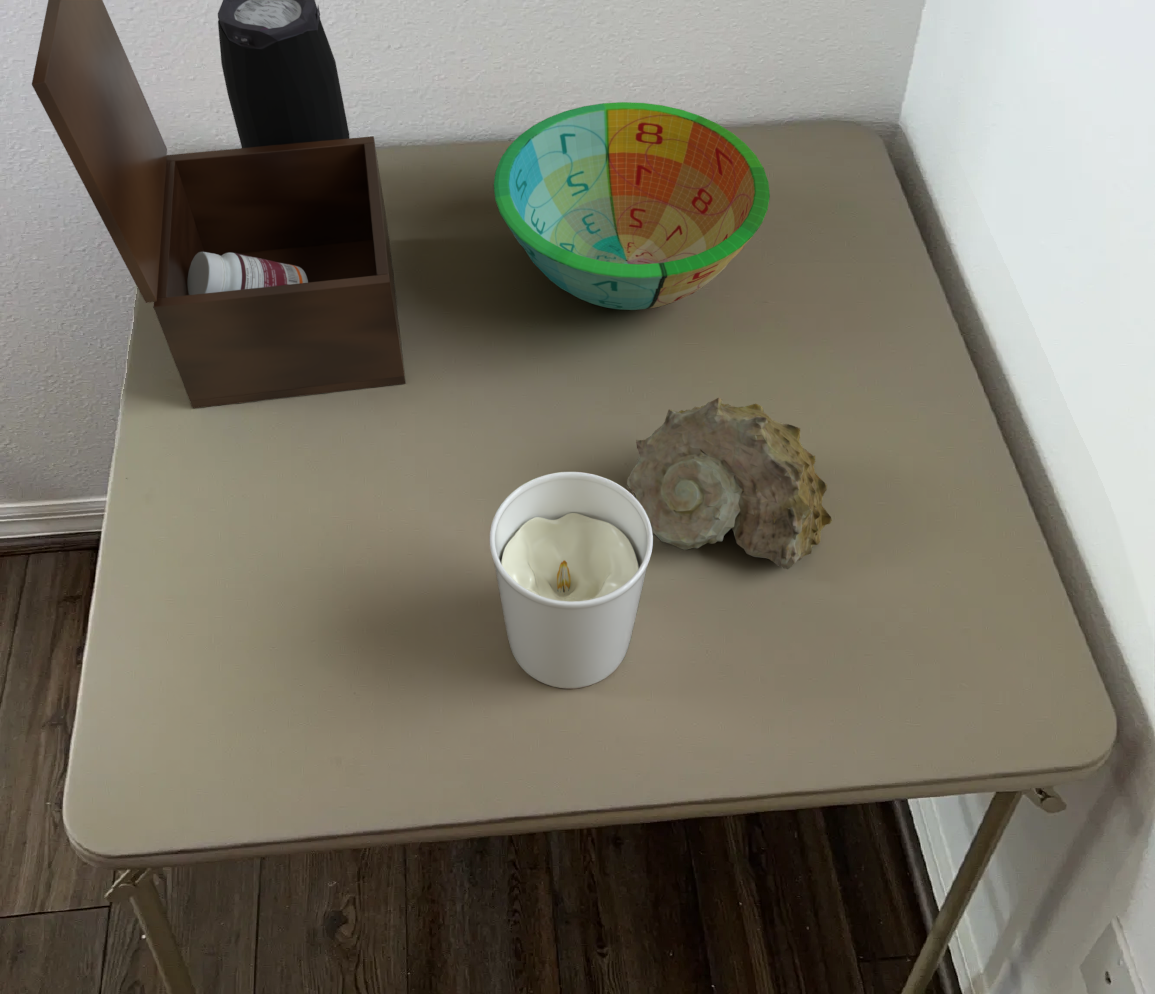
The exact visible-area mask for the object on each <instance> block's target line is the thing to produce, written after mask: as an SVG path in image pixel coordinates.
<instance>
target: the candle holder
mask: <svg viewBox="0 0 1155 994" xmlns="http://www.w3.org/2000/svg"><path fill="white" fill-rule="evenodd" d="M653 547H654V533H653V532H652V528H651V524H650V521H649V518H648V516H647V514H646V512H645V510H644V508H643V507H642V505H641V504H640V503H639V501H638V500H637V499H636V496H635V495H633V494H632V493H631V492H630V491H628V490H627V489H626V488H625V487H623V486H622V485H621V484H618V483H617V482H615V481H613V480H611V479H609V478H606V477H604V476H601V475H597V474H594V473H588V472H581V471H560V472H553V473H548V474H544V475H540V476H538V477H535V478H533V479H531V480H529V481H527V482H525V483H522V484H521V485H520V486H518V487H517V488H515V489H514V490H513V491H511V493H509V494H508V495H507V497H505V499H504V500H503V501H502V503H501V504H500V505H499V507H498V508H497V510H496V511H495V514H494V516H493V518H492V521H491V525H490V529H489V550H490V555H491V557H492V561H493V565H494V569H495V575H496V582H497V587H498V592H499V598H500V603H501V609H502V615H503V620H504V624H505V625H504V626H505V631H506V636H507V639H508V645H509V648H510V651H511V654H512V655H513V657H514V659H515V661H516V662H517V664H518V665H519V666H520V668H521V669H522V670H523V671H524V672H525V673H526V674H527V675H528V676H530V677H531V678H533V679H534V680H536V681H538V682H540V683H542V684H544V685H547V686H550V687H553V688H559V689H579V688H585V687H589V686H592V685H595V684H598V683H600V682H601V681H603V680H605V679H607V677H609V676H610V675H611V674H613V673H614V672H615V671H616V670H617V669H618V667H619V666H620V665H621V664H622V662H623V661H624V659H625V657H626V655H627V652H628V650H629V647H630V644H631V640H632V635H633V632H634V628H635V624H636V619H637V615H638V610H639V605H640V601H641V598H642V597H641V596H642V592H643V587H644V583H645V579H646V573H647V571H648V570H647V569H648V565H649V562H650V560H651V556H652V552H653Z"/></svg>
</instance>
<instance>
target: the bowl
mask: <svg viewBox="0 0 1155 994" xmlns="http://www.w3.org/2000/svg"><path fill="white" fill-rule="evenodd" d="M493 194H494V201H495V203H496V207H497V209H498V212H499V215H500V216H501V218H502V219H503V221H504V222H505V224H506V226H507V227H508V229H509V230H510V231H511V233H512V235H513V236H514V238H515V239H516V241H517V243H518V244H519V245H521V247H522V248H523V249H524V251H525V252H526V254H527V256H528V257H529V259H530V260H531V262H532V263H533V264H534V265H535V266H536V268H538V269H539V271H541V272H542V273H543V274H544V275H545V276H546V277H547V279H548V280H549V281H550V282H552V283H553V284H555V285H556V286H557V287H559V288H560V289H561V290H563V291H565V292H567V293H569V294H571V295H572V296H574V297H576V298H578V299H579V300H582V301H584V302H587V303H589V304H591V305H595V306H599V307H603V308H608V309H613V310H624V311H626V310H627V311H636V310H637V311H638V310H649V309H654V308H660V307H662V306H663V307H664V306H665V305H669V304H672V303H674V302H677V301H679V300H682V299H684V298H686V297H688V296H691V295H692V294H695V293H696V292H698V291H699V290H701V289H702V288H703V287H705V286H707V284H709V283H710V282H711V281H712V280H714V279H715V278H716V277H717V276H718V275H720V273H721V272H723V270H725V269H726V267H727V266H728V265H729V263H730V262H731V261H732V260H733V259H734V258H735V257H736V256H737V255H738V254H739V253H740V252H741V251H742V250H743V249H744V247H745V245H746V244H747V243H748V242H749V241H750V240H751V239H752V238H753V237H754V235H756V233H757V231H758V230H759V229H760V227H761V226H762V225H763V222H764V220H765V217H766V214H767V213H768V210H769V204H770V198H771V195H770V183H769V179H768V176H767V174H766V171H765V168H764V166H763V165H762V162H761V161H760V160H759V158H758V156H757V155H756V154H755V152H754V151H753V150H752V149H751V148H750V147H749V146H748V145H747V143H745V142H744V141H743V140H742V139H741V138H739V137H738V136H737V135H736V134H735V133H733V132H732V131H730V130H728V129H727V128H725V127H724V126H722V125H720V124H719V123H718V122H715V121H713V120H710V119H709V118H706V117H704V116H702V115H699V114H695V113H693V112H690V111H687V110H684V109H680V108H676V107H672V106H667V105H662V104H655V103H647V102H631V101H629V102H628V101H622V102H621V101H619V102H603V103H595V104H590V105H583V106H579V107H576V108H571V109H568V110H564V111H561V112H559V113H556V114H554V115H551V116H549V117H546V118H545V119H542V120H541V121H539V122H537V123H535V124H534V125H532V126H531V127H529V128H528V129H527V130H525V131H524V132H522V133H521V134H520V135H518V137H517V138H515V140H513V142H511V143H510V145H509V146H508V147H507V148H506V149H505V151H504V153H503V154H502V156H501V157H500V159H499V161H498V163H497V166H496V170H495V172H494V180H493Z"/></svg>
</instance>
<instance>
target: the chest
mask: <svg viewBox="0 0 1155 994" xmlns="http://www.w3.org/2000/svg"><path fill="white" fill-rule="evenodd" d="M377 154H378V153H377V147H376V141H375V136H372V135H371V136H370V135H369V136H361V137H360V136H359V137H349V138H348V139H337V140H327V141H316V142H305V143H294V144H283V145H272V146H261V147H250V148H242V147H240V148H239V147H238V148H229V149H220V150H219V149H217V150H207V151H195V152H185V153H174V154H167V160H166V174H165V188H164V203H163V217H162V231H161V245H160V260H159V274H158V288H157V301H155V302H153V305H152V307H153V310H154V313H155V316H156V318H157V321H158V323H159V326H160V329H161V331H162V334H163V336H164V339H165V341H166V343H167V346H168V349H169V352H170V354H171V357H172V359H173V362H174V364H175V367H176V370H177V372H178V374H179V378H180V380H181V383H182V385H183V389H184V390H185V392H186V396H187V398H188V400H189V403H190V405H191V408H192V409H199V408H209V407H217V406H225V405H233V404H234V405H235V404H242V403H243V404H244V403H251V402H261V401H268V400H269V401H270V400H278V399H285V398H295V397H303V396H310V395H320V394H328V393H336V392H345V391H353V390H362V389H371V388H380V387H389V386H395V385H396V386H397V385H405V384H406V382H407V381H406V373H405V365H404V355H403V346H402V338H401V337H402V336H401V330H400V320H399V319H400V318H399V312H398V304H397V292H396V285H395V276H394V267H393V266H394V265H393V258H392V249H391V241H390V240H391V239H390V234H389V227H388V221H387V215H386V207H385V200H384V195H383V186H382V180H381V173H380V167H379V160H378V156H377ZM199 252H208V253H213V254H217V255H220V256H222V255H223V254H225V253H237V254H242V255H247V256H251V257H256V258H261V259H266V260H270V261H274V262H279V263H283V264H290V265H294V266H298V267H300V268H301V269H303V271H304V272H305V274H306V276H307V279H308V283H300V284H290V285H281V286H271V287H262V288H252V289H243V290H233V291H224V292H214V293H205V294H195V295H189V294H188V286H187V281H188V272H189V268H190V265H191V262H192V260H193V258H194V257H195V255H196V254H197V253H199Z"/></svg>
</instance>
